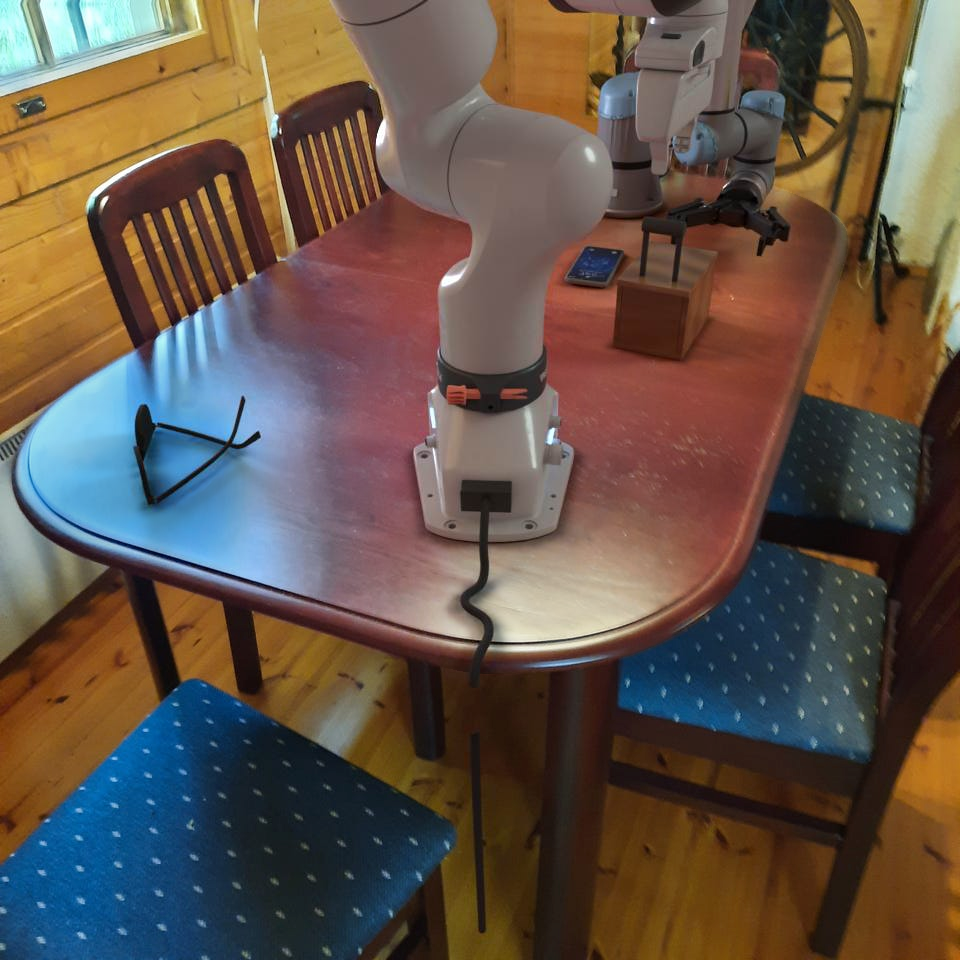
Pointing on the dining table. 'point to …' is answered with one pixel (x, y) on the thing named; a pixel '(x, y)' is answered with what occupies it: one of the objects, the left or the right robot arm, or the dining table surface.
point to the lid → (667, 261)
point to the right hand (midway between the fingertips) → (716, 242)
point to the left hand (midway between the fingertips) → (671, 162)
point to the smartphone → (595, 266)
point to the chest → (661, 319)
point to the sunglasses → (147, 427)
